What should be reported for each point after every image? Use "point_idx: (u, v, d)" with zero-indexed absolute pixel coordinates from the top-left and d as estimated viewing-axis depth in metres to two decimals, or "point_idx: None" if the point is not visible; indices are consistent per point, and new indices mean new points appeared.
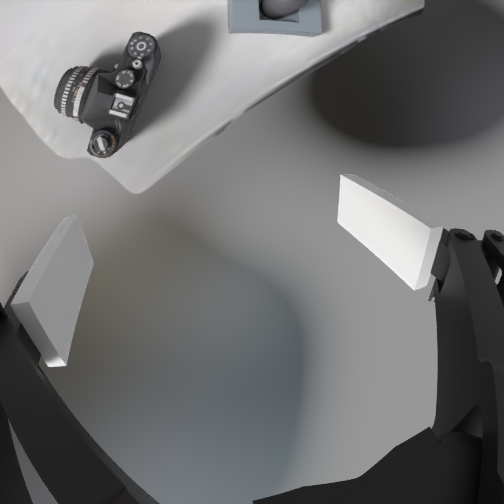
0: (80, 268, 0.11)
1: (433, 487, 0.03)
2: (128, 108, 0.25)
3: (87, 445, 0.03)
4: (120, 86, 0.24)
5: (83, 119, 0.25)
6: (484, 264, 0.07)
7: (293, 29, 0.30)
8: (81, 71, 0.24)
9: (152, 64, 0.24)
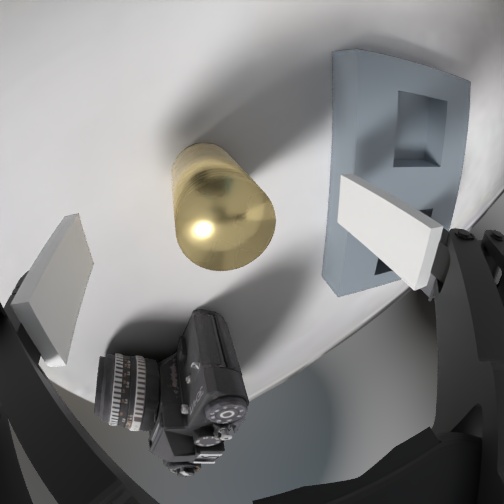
0: (80, 268, 0.11)
1: (433, 487, 0.03)
2: (216, 456, 0.20)
3: (87, 445, 0.03)
4: (203, 445, 0.19)
5: None
6: (484, 264, 0.07)
7: None
8: (122, 392, 0.19)
9: (243, 421, 0.19)
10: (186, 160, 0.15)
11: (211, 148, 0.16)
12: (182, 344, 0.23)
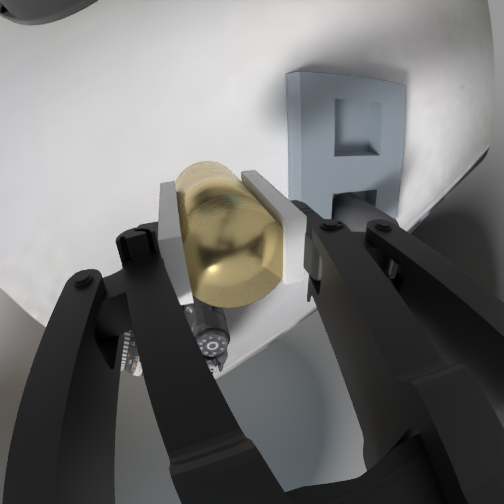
0: None
1: (433, 487, 0.03)
2: None
3: (219, 390, 0.05)
4: None
5: None
6: (364, 253, 0.08)
7: None
8: (131, 336, 0.26)
9: (226, 357, 0.26)
10: (188, 182, 0.14)
11: (215, 168, 0.15)
12: None
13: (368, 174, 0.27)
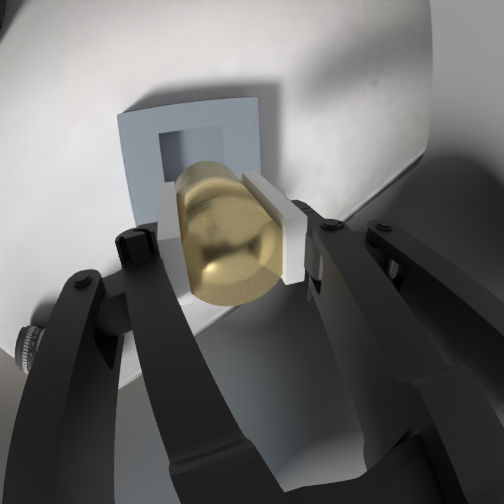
0: None
1: (433, 487, 0.03)
2: None
3: (218, 390, 0.05)
4: None
5: None
6: (364, 253, 0.08)
7: None
8: (29, 348, 0.26)
9: None
10: (188, 182, 0.14)
11: (215, 167, 0.15)
12: None
13: None
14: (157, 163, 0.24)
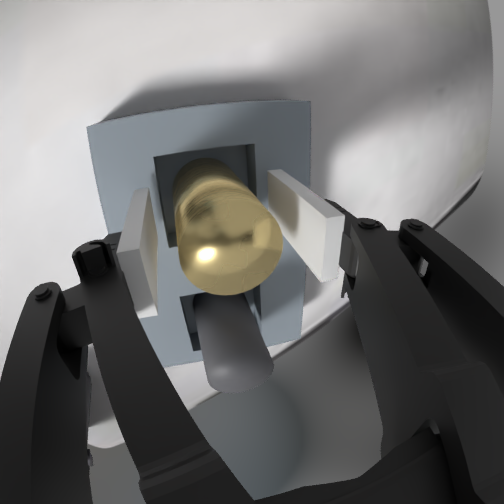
0: (154, 235, 0.13)
1: (433, 487, 0.03)
2: None
3: (181, 401, 0.04)
4: None
5: None
6: (398, 253, 0.08)
7: None
8: None
9: (88, 460, 0.18)
10: (186, 178, 0.14)
11: (212, 164, 0.15)
12: None
13: None
14: (153, 204, 0.15)
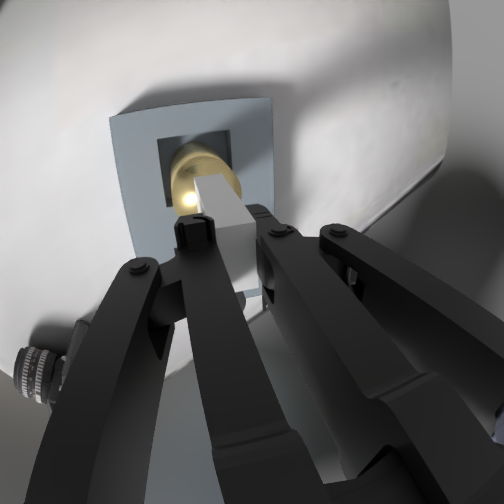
0: None
1: None
2: None
3: (268, 380, 0.05)
4: None
5: None
6: (317, 259, 0.08)
7: None
8: (29, 373, 0.24)
9: None
10: (180, 154, 0.20)
11: (198, 144, 0.21)
12: (69, 344, 0.28)
13: None
14: (156, 173, 0.21)
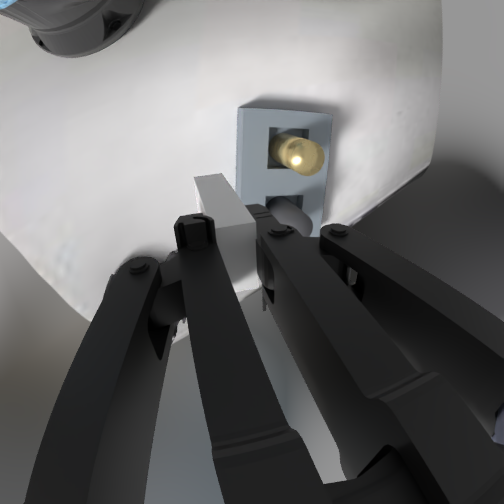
0: None
1: None
2: None
3: (268, 380, 0.05)
4: None
5: None
6: (317, 259, 0.08)
7: None
8: None
9: None
10: (283, 137, 0.34)
11: None
12: None
13: (295, 183, 0.39)
14: (265, 147, 0.35)
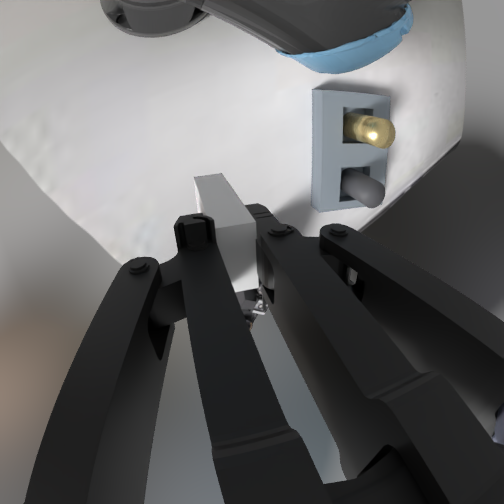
0: None
1: None
2: (266, 307, 0.41)
3: (268, 380, 0.05)
4: (261, 293, 0.40)
5: None
6: (317, 259, 0.08)
7: (362, 205, 0.45)
8: None
9: None
10: (355, 116, 0.36)
11: None
12: None
13: (364, 155, 0.41)
14: (340, 124, 0.37)
